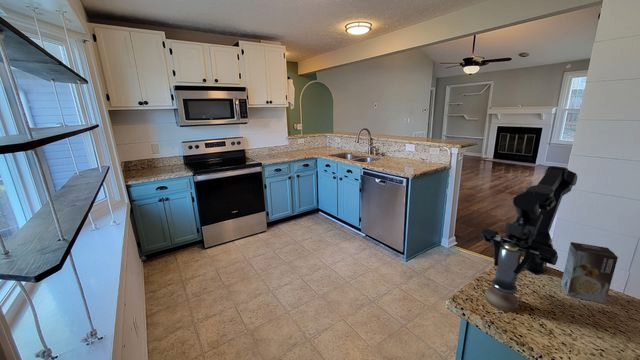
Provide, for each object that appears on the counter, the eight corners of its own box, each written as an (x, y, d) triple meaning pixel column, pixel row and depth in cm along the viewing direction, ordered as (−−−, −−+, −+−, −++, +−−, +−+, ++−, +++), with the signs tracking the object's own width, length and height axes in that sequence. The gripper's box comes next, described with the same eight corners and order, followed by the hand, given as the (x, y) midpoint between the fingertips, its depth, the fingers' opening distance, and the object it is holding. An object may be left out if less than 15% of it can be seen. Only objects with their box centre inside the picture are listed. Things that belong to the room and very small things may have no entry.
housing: (509, 280, 84) (516, 240, 80) (521, 294, 78) (530, 252, 74) (487, 279, 85) (493, 240, 81) (498, 293, 79) (505, 251, 75)
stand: (498, 289, 88) (499, 284, 87) (524, 307, 80) (525, 301, 79) (478, 295, 85) (479, 290, 85) (503, 314, 78) (504, 308, 77)
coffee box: (596, 292, 86) (609, 247, 81) (605, 304, 80) (620, 257, 76) (559, 284, 90) (570, 241, 86) (566, 295, 84) (577, 250, 80)
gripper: (487, 204, 85) (466, 246, 81) (563, 223, 70) (541, 275, 67) (494, 220, 91) (475, 259, 88) (565, 240, 77) (545, 289, 73)
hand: (505, 269), depth 79 cm, fingers closed on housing, 5 cm apart
